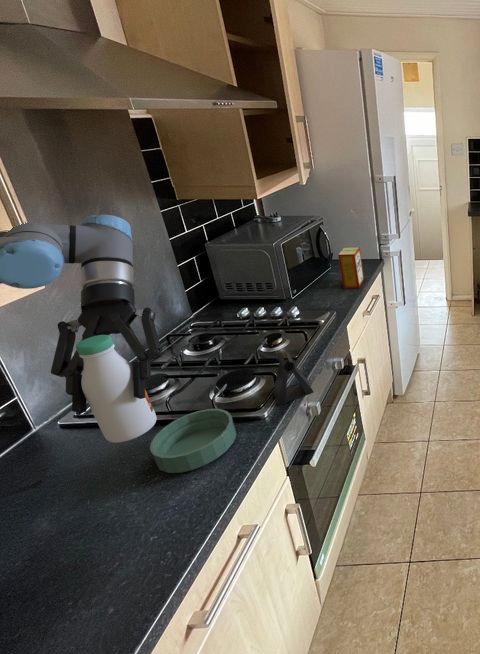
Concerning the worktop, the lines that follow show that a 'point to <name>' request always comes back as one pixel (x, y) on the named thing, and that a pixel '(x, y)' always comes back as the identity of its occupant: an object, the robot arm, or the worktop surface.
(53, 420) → the worktop surface
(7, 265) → the robot arm
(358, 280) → the baking soda box
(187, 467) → the green jar lid
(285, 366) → the phone stand
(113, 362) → the milk bottle
